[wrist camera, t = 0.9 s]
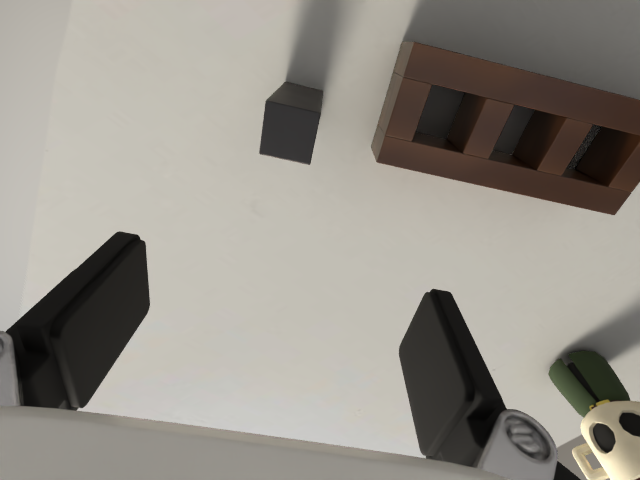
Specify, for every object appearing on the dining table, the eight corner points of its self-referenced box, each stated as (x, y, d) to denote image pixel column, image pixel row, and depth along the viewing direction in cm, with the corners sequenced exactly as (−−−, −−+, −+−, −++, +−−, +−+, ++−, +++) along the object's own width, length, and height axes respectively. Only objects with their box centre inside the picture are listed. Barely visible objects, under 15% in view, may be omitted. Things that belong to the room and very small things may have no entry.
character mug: (605, 326, 38) (721, 447, 27) (632, 357, 40) (748, 479, 29) (517, 371, 42) (584, 492, 31) (545, 396, 44) (618, 516, 33)
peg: (284, 81, 26) (265, 100, 18) (323, 90, 26) (320, 113, 18) (279, 121, 27) (259, 154, 19) (315, 129, 27) (309, 165, 20)
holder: (402, 41, 24) (414, 41, 21) (643, 103, 26) (691, 113, 22) (370, 147, 28) (376, 162, 25) (581, 195, 30) (614, 215, 26)
